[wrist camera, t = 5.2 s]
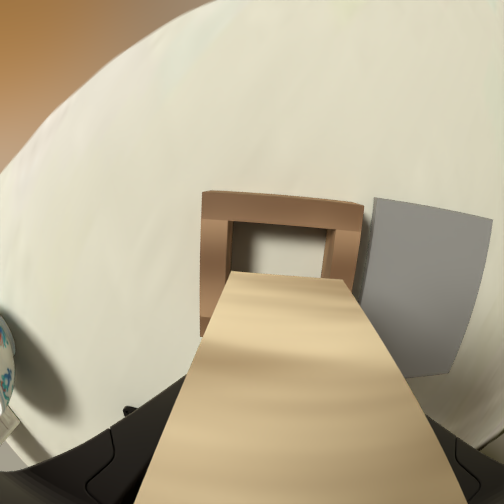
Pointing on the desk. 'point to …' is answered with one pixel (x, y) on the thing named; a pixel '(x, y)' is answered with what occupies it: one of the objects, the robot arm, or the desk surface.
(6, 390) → the chinaware
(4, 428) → the supplement box
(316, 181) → the desk surface
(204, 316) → the collar
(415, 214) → the rubber mat
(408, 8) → the desk surface
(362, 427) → the peg
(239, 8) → the desk surface
